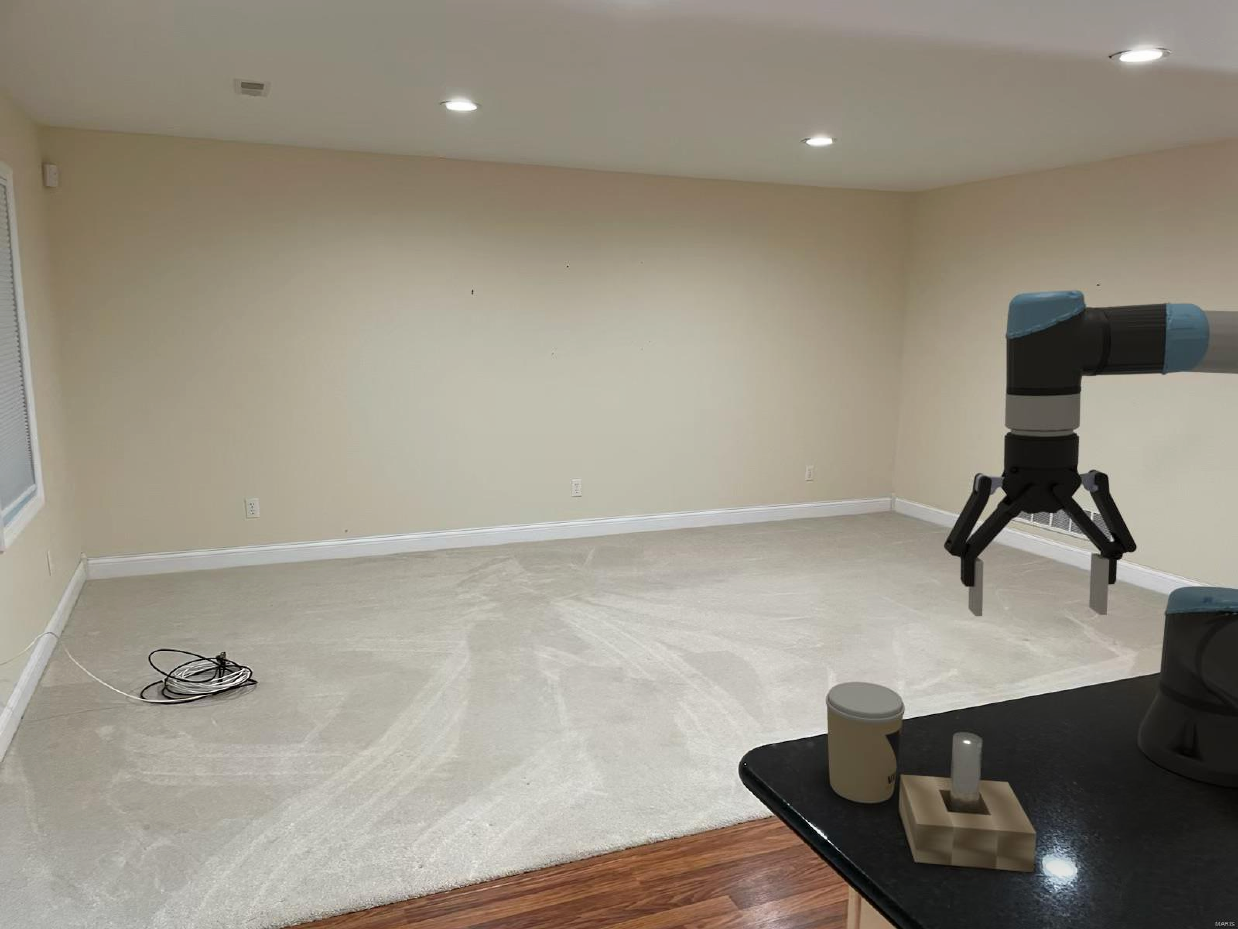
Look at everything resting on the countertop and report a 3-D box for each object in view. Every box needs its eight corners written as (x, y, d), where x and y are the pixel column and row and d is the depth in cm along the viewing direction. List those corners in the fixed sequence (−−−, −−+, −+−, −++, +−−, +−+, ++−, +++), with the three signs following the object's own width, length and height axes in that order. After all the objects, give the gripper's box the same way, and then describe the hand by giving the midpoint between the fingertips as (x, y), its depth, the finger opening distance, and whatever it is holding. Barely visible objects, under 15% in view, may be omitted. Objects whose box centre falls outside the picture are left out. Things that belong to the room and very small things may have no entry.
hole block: (1005, 817, 97) (1007, 782, 96) (1033, 872, 87) (1036, 833, 87) (898, 809, 99) (900, 774, 98) (914, 862, 89) (916, 823, 89)
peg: (972, 831, 95) (978, 733, 93) (979, 847, 92) (985, 746, 90) (944, 829, 95) (950, 731, 93) (950, 845, 92) (956, 744, 90)
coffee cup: (905, 811, 99) (910, 717, 97) (824, 803, 101) (827, 710, 99) (895, 770, 108) (900, 683, 106) (821, 763, 110) (824, 678, 108)
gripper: (1142, 423, 95) (1133, 599, 99) (918, 431, 98) (917, 602, 102) (1178, 431, 88) (1167, 621, 91) (935, 439, 91) (933, 624, 94)
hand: (1036, 612), depth 97 cm, fingers open, 13 cm apart
